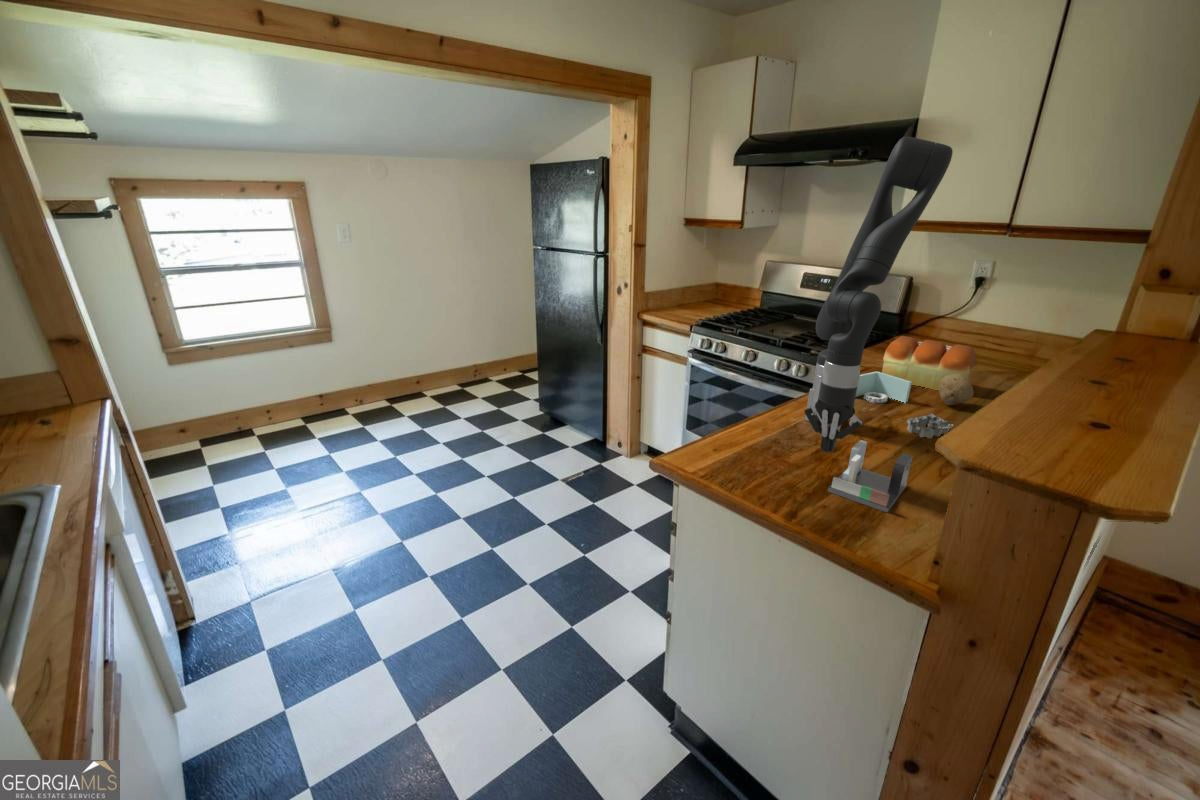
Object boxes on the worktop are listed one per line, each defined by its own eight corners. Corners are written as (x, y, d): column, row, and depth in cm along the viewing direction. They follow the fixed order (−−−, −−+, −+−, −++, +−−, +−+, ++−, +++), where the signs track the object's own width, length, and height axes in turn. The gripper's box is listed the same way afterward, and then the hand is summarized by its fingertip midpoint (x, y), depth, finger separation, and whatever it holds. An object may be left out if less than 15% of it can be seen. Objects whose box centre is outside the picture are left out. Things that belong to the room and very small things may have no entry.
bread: (968, 387, 177) (980, 345, 172) (961, 396, 169) (973, 352, 163) (889, 371, 193) (897, 332, 188) (878, 379, 184) (887, 339, 179)
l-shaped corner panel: (848, 398, 168) (852, 376, 165) (872, 392, 173) (876, 371, 170) (881, 411, 158) (886, 387, 155) (906, 404, 163) (912, 381, 160)
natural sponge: (969, 404, 162) (977, 373, 158) (969, 413, 155) (978, 381, 151) (935, 398, 167) (942, 368, 163) (933, 406, 160) (941, 376, 156)
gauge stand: (827, 491, 113) (833, 458, 110) (849, 468, 123) (856, 438, 120) (887, 512, 105) (895, 478, 103) (906, 486, 115) (914, 454, 112)
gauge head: (838, 484, 113) (844, 455, 111) (855, 467, 121) (860, 440, 118) (845, 486, 113) (851, 457, 110) (861, 469, 120) (867, 441, 117)
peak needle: (844, 489, 111) (850, 460, 109) (850, 482, 114) (856, 454, 111) (849, 490, 111) (855, 461, 108) (855, 484, 113) (861, 455, 111)
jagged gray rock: (925, 440, 138) (928, 426, 136) (901, 429, 144) (904, 416, 143) (954, 434, 141) (957, 421, 140) (929, 424, 148) (932, 411, 146)
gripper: (876, 384, 113) (862, 454, 119) (816, 371, 122) (805, 438, 128) (865, 392, 108) (850, 466, 114) (803, 378, 116) (792, 447, 123)
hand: (826, 451), depth 121 cm, fingers closed
